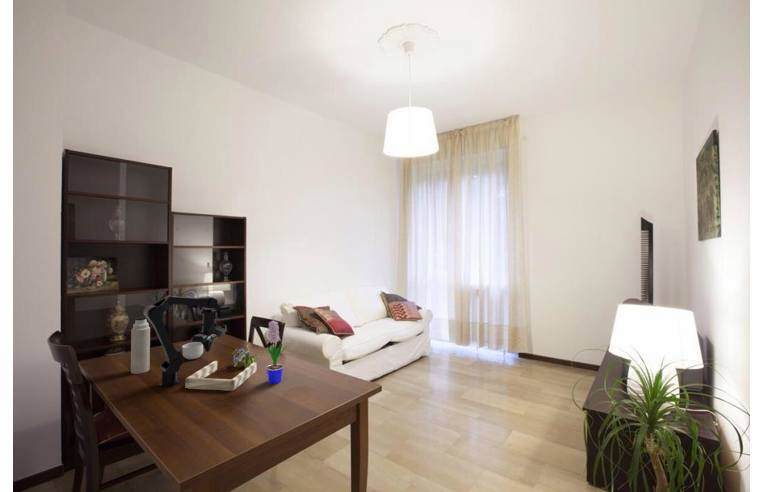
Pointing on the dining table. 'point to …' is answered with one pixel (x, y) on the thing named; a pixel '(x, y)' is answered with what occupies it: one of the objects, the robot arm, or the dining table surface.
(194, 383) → the pale wooden open frame
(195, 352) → the teacup
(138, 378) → the dining table surface
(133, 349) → the thermos bottle
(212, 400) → the dining table surface
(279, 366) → the hyacinth
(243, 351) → the passion flower
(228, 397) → the dining table surface
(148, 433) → the dining table surface
